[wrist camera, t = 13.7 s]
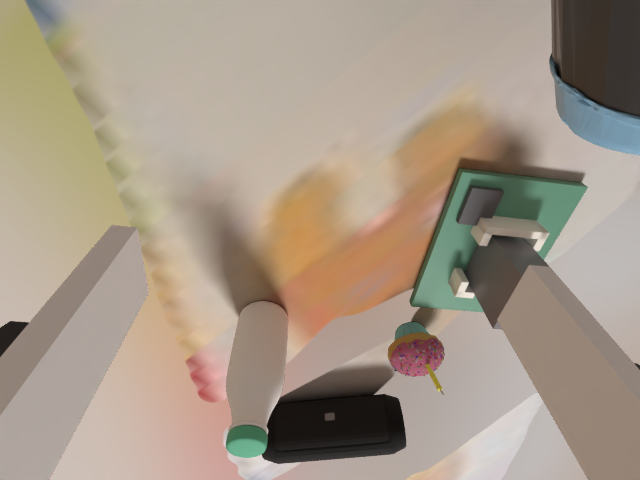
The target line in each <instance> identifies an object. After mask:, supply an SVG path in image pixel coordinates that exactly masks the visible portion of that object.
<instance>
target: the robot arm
mask: <svg viewBox="0 0 640 480" xmlns="http://www.w3.org/2000/svg"><path fill="white" fill-rule="evenodd" d="M551 9H552V54H551V56H550V61H549V64H550V70H551V74H552V76H553V78H554V82H555V95H556V106H557V110H558V113H559V116H560V118H561V120H562V121H563V122H564V123H565V124H567V125H568V126H569V128H570V129H571V130H572V131H573V132H574V133H575V134H576V135H578V136H579V137H581V138H583V139H585V140H587V141H589V142H591V143H593V144H596V145H598V146H601V147H604V148H607V149H610V150H614V151H618V152H623V153H628V154H634V155H640V0H551ZM148 293H149V290H148V284H147V279H146V274H145V268H144V262H143V257H142V251H141V245H140V240H139V234H138V229H137V228H136V227H124V226H114V225H112V226H111V227H110V228H109V229H108V230H107V232H106V233H105V234H104V235H103V236H102V238H101V239H100V240H99V241H98V242H97V243H96V245H95V246H94V247H93V248H92V249H91V250H90V252H89V253H88V254H87V255H86V256H85V257H84V259H83V260H82V261H81V262H80V264H79V265H78V266H77V267H76V268H75V269H74V270H73V272H72V273H71V274H70V275H69V276H68V278H67V279H66V280H65V281H64V282H63V283H62V285H61V286H60V287H59V288H58V289H57V291H56V292H55V293H54V294H53V295H52V297H51V298H50V299H49V300H48V301H47V302H46V304H45V305H44V306H43V307H42V308H41V310H40V311H39V312H38V313H37V314H36V315H35V317H34V318H33V319H32V320H31V322H30V323H27V322H14V321H10V322H8V323H7V324H5V325H4V326H2V327H1V328H0V480H49V479H50V477H51V475H52V474H53V472H54V470H55V468H56V466H57V464H58V462H59V460H60V459H61V457H62V455H63V453H64V451H65V449H66V447H67V445H68V443H69V442H70V440H71V438H72V436H73V434H74V432H75V430H76V428H77V426H78V425H79V423H80V421H81V419H82V417H83V415H84V413H85V412H86V410H87V408H88V406H89V404H90V402H91V400H92V398H93V397H94V395H95V393H96V391H97V389H98V387H99V385H100V383H101V381H102V380H103V378H104V376H105V374H106V372H107V370H108V368H109V367H110V365H111V363H112V361H113V359H114V357H115V355H116V353H117V352H118V350H119V348H120V346H121V344H122V342H123V340H124V338H125V336H126V335H127V332H128V331H129V329H130V327H131V325H132V323H133V321H134V320H135V318H136V316H137V314H138V312H139V310H140V308H141V306H142V304H143V303H144V301H145V299H146V297H147V295H148ZM497 321H498V323H499V324H500V326H501V328H502V330H503V331H504V333H505V335H506V336H507V338H508V340H509V342H510V344H511V345H512V347H513V349H514V351H515V352H516V354H517V356H518V358H519V359H520V361H521V363H522V364H523V366H524V368H525V370H526V371H527V373H528V375H529V377H530V379H531V380H532V382H533V384H534V386H535V387H536V389H537V391H538V393H539V394H540V396H541V398H542V400H543V401H544V403H545V405H546V407H547V408H548V410H549V412H550V414H551V415H552V417H553V419H554V420H555V422H556V424H557V426H558V428H559V429H560V431H561V433H562V434H563V436H564V438H565V440H566V442H567V443H568V445H569V447H570V448H571V450H572V452H573V454H574V455H575V457H576V459H577V461H578V462H579V464H580V466H581V468H582V470H583V471H584V473H585V475H586V476H587V478H588V480H640V365H638V364H636V363H633V362H632V361H631V359H630V358H629V357H628V356H627V355H626V354H625V353H624V352H623V350H622V349H621V348H620V347H619V346H618V345H617V343H616V342H615V341H614V340H613V339H612V338H611V337H610V336H609V334H608V333H607V332H606V331H605V330H604V329H603V327H602V326H601V325H600V324H599V323H598V322H597V321H596V319H595V318H594V317H593V316H592V315H591V314H590V313H589V311H588V310H587V309H586V308H585V307H584V306H583V305H582V303H581V302H580V301H579V300H578V299H577V298H576V296H575V295H574V294H573V293H572V292H571V291H570V290H569V288H568V287H567V286H566V285H565V284H564V283H563V282H562V281H561V279H560V278H559V277H558V276H557V275H556V274H555V273H554V271H553V270H552V269H551V268H550V267H547V266H536V265H529V266H528V268H527V269H526V271H525V273H524V274H523V276H522V278H521V280H520V281H519V283H518V285H517V286H516V288H515V290H514V292H513V293H512V295H511V297H510V298H509V300H508V302H507V304H506V305H505V307H504V309H503V310H502V312H501V314H500V315H499V317H498V319H497Z"/></svg>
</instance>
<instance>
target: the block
mask: <svg viewBox="0 0 640 480" xmlns="http://www.w3.org/2000/svg"><path fill="white" fill-rule="evenodd" d="M529 265H536V266H547V267H549V266H548V265H547V263H546V262H545V261H544V260H543V259H542V258H541V257H540V255H539V254H538V253H537V252H536V251H535V250H534V249H533V247H532V246H531V245H530V244H529V243H528V242H527V241H526V239H525V238H521V237H511V236H502V235H492V236H491V238H490V240H489V242H488V245H487V246H480V245H477V247H476V249H475V251H474V253H473V256H472V258H471V260H470V262H469V264H468V266H467V268H466V271H465V273H464V274H465V276H466V278H467V280H468V281H469V285H470V287H471V289H472V291H473V293H474V294H475V296H476V298H477V300H478V302H479V304H480V305H481V307H482V309H483V311H484V313H485V314H486V316H487V318H488V320H489V322H490V324H491V325H492V327H493V328H494V329H502V328H501V326H500V324H499V323H498V321H497V319H498V317H499V315H500V314H501V312H502V310H503V309H504V307H505V305H506V304H507V302H508V300H509V298H510V297H511V295H512V293H513V292H514V290H515V288H516V286H517V285H518V283H519V281H520V280H521V278H522V276H523V274H524V273H525V271H526V269H527V268H528V266H529Z"/></svg>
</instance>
